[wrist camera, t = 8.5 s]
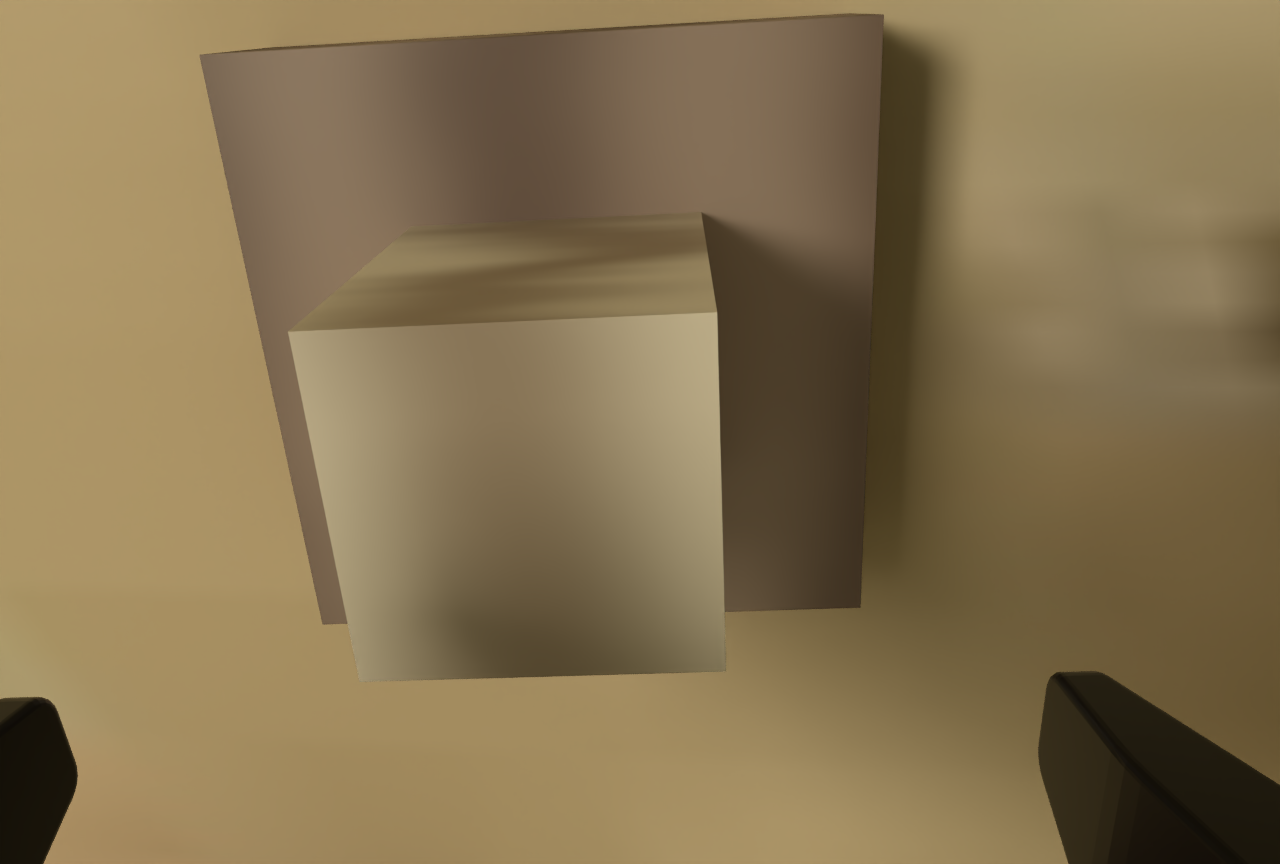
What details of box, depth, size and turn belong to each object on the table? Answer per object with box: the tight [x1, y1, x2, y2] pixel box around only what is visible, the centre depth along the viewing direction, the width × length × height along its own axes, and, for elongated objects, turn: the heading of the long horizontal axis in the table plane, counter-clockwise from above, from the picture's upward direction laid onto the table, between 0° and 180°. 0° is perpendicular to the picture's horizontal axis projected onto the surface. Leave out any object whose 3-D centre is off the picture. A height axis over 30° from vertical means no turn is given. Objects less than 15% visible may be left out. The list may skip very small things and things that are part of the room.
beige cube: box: [288, 212, 726, 682], centre depth 15 cm, size 5×5×6 cm
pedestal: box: [200, 13, 884, 624], centre depth 19 cm, size 11×11×3 cm
